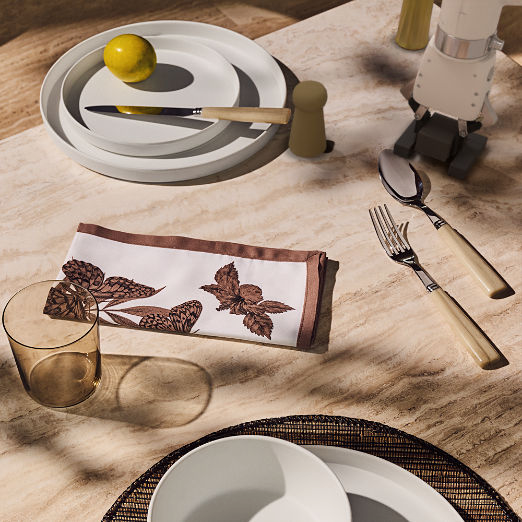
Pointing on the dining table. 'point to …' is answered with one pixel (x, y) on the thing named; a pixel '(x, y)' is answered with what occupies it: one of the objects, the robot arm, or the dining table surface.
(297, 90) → the olive pawn
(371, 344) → the dining table surface
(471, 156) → the dark gray u-shaped block
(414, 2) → the vase
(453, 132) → the charcoal block
